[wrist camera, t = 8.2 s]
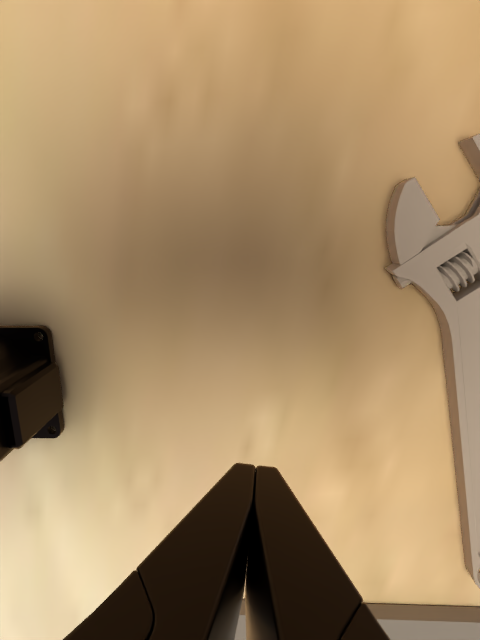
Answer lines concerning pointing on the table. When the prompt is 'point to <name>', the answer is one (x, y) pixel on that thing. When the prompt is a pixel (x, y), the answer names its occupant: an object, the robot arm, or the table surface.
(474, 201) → the adjustable wrench
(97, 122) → the table surface
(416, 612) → the level stand
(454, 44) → the table surface
